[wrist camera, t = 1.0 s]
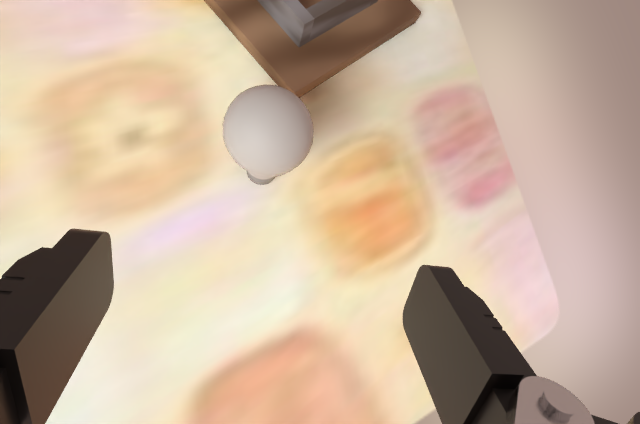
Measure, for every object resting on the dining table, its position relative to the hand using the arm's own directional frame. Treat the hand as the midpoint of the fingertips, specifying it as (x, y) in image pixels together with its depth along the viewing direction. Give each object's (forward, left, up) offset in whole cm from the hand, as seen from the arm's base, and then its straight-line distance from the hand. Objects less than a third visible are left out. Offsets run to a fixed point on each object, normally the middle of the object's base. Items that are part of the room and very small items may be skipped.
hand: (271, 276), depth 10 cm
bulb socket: (-21, +24, -21) cm, 39 cm away
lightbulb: (-8, +8, -22) cm, 24 cm away
